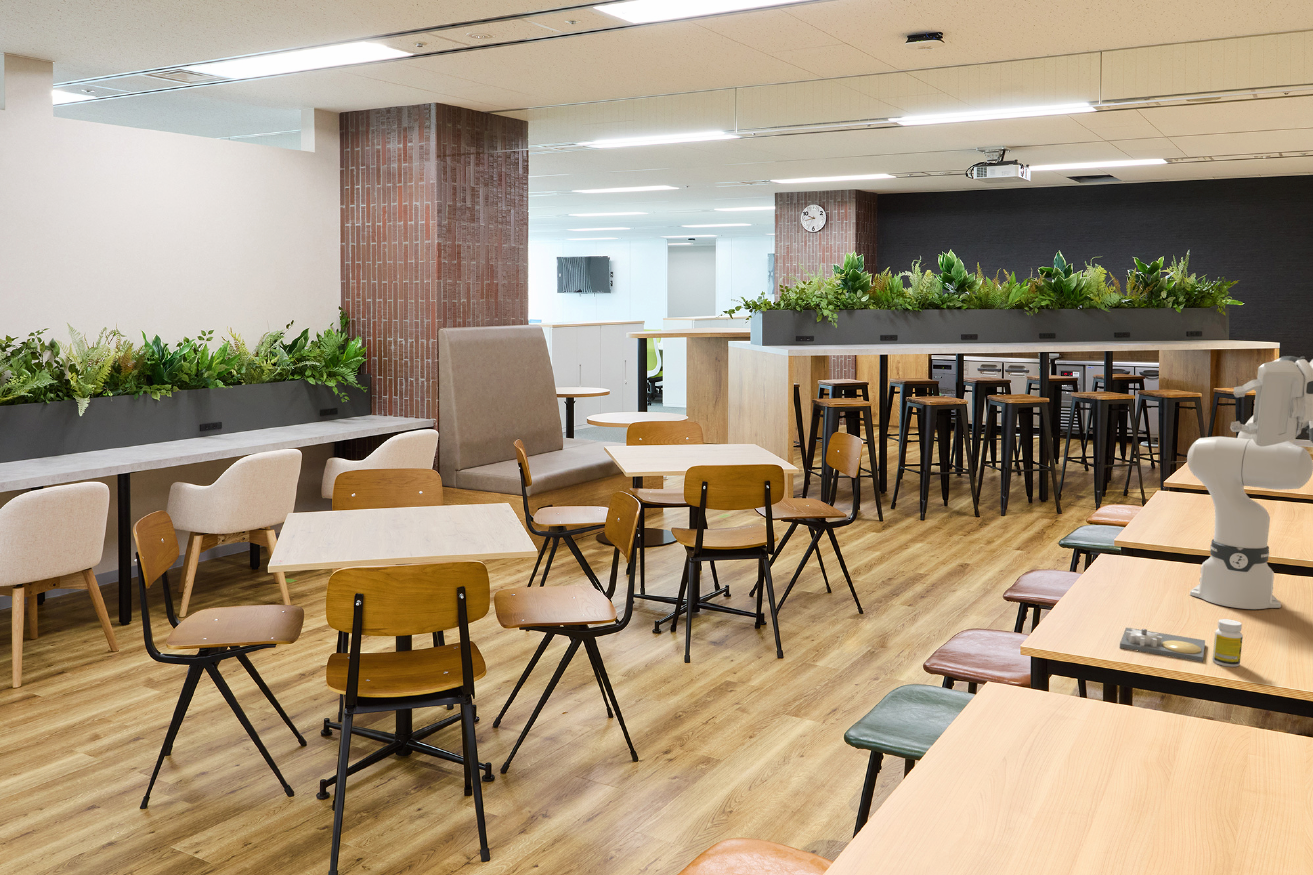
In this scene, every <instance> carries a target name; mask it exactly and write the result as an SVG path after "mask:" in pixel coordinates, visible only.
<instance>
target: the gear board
mask: <svg viewBox="0 0 1313 875" xmlns="http://www.w3.org/2000/svg"><path fill="white" fill-rule="evenodd" d="M1205 646H1206V639H1200V638H1194V637H1187V636H1181V635H1174V634H1168V633H1162V632H1156V631H1150V630H1148V629H1145V628H1141V629H1137V628H1132V627H1125V630H1124V631H1123V634H1122V637H1121V640H1120V642H1119V649H1123V648H1125V649H1124V650H1128V649H1130V651H1134V650H1138V651H1137V652H1140V651H1141V653H1146V652H1149V653H1148V654H1152V655H1158V656H1163V657H1169V656H1170V657H1171V658H1176V659H1181V658H1182V660H1186V661H1187V660H1189V661H1194V662H1199V663H1203V662H1204V655H1205V654H1204V653H1205Z"/></svg>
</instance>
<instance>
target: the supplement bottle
mask: <svg viewBox="0 0 1313 875" xmlns="http://www.w3.org/2000/svg"><path fill="white" fill-rule="evenodd" d="M1242 625H1243V624H1242V622H1240V621H1238V620H1233V619H1229V618H1222V619H1221V618H1219V619H1218V623H1217V629H1216V630H1215V632H1214V640H1213V648H1212V649H1213V650H1212V651H1213V652H1212V662H1213V663H1215V664H1216V665H1218V666H1223V667H1230V668H1231V667H1232V668H1235V667H1239V666H1240V665H1241V658H1242V656H1241V655H1242V646H1243V637H1244V636H1243V634H1242V632H1241V631H1242V628H1243V627H1242Z"/></svg>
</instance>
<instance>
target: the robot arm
mask: <svg viewBox="0 0 1313 875" xmlns="http://www.w3.org/2000/svg"><path fill="white" fill-rule="evenodd" d="M1305 358H1306V356H1304V355H1303V356H1300V357H1298V356H1293V355H1283V356H1281V357H1279V358H1276V359H1275V360H1273V361H1270V362H1269V361H1268V362H1265V363H1263V364H1261V365H1260V366H1258V367H1257V377H1256V378H1257V379H1251V380H1249V381H1248V382H1246V383H1245V384H1242V385H1240V386H1235V387H1233V395H1234V397H1235V398H1245V396H1246V394H1247V393H1249V392H1251V391H1254V392H1255V398H1254V407H1253V415H1252V416H1251V417H1250V418H1249V419H1248V420H1247V422H1246V423H1245V424H1243V423H1241V422H1240V420H1237V421H1231V422H1230V427H1229V428H1230V431H1231V432H1232V433H1238V435H1237V436H1236V437H1229V436H1209V437H1207V436H1206V437H1199V438H1198V439H1197V440H1195V441H1194V442H1193V443H1192V444H1191V446H1190V447H1189V449H1188V452H1187V457H1186V459H1187V460H1186V463H1187V466H1188V468H1189V471H1190V472H1191V474H1192V475H1193V476H1194V477H1195V478H1197V479H1198V480H1199V481H1200V482H1201V483H1202V484H1203V485H1204V487H1205V488H1206V489H1207V491H1208V493H1209V495H1210V497H1211V499H1212V502H1213V506H1214V531H1213V532H1214V535H1213V539H1211V543H1210V550H1209V551H1210V552H1209V554H1210V557H1209V558H1208V559H1206V560H1205V561H1203V562H1202V564H1201V567H1200V577H1199V583H1198V584H1197V585H1196V586H1195V587H1192V589H1190V591H1189V595H1190V596H1193V597H1196V598H1200V599H1202V600H1204V601H1207V602H1209V603H1212V604H1216V605H1219V606H1224V607H1230V608H1236V609H1245V610H1263V609H1269V608H1271V609H1274V608H1275V609H1278V608H1279V609H1280V608H1281V606H1282V604H1281V602H1280V600H1278V599H1277V598H1276V596H1275V595H1274V594H1273V593H1274V592H1273V591H1274V580H1275V579H1274V578H1275V572H1274V571H1273V569H1272V568H1271V567H1270V566H1269V565H1268V561H1269V556H1270V547H1269V545H1268V542H1269V531H1270V522H1271V516H1270V513H1269V512H1268V510H1267V509H1266V508H1265V507H1264V506H1263V505H1261V503H1259V502H1257V501H1256V500H1254V499H1251V498H1250V497H1249V496H1248V494H1247V493H1246V491H1245V487H1250V488H1251V487H1252V488H1253V487H1254V488H1260V489H1266V490H1267V489H1268V490H1275V491H1276V490H1278V491H1279V490H1297V489H1298V490H1299V489H1300V488H1303V487H1304V486H1305V485H1307V483H1308V482H1309V481H1310V480H1311V477H1312V475H1313V458H1312V456H1311V454H1310V452H1309V451H1308V450H1307V449H1306V448H1305V447H1303V446H1300V445H1297V444H1294V442H1295V441H1296V438H1297V437H1298V436H1299V435H1301V433H1302V431H1303V429H1307V430H1306V433H1307V434H1309V436H1308V437H1309V441H1310V442H1311V443H1312V444H1313V358H1312V359H1311V360H1310V362H1308V360H1306V359H1305Z"/></svg>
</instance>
